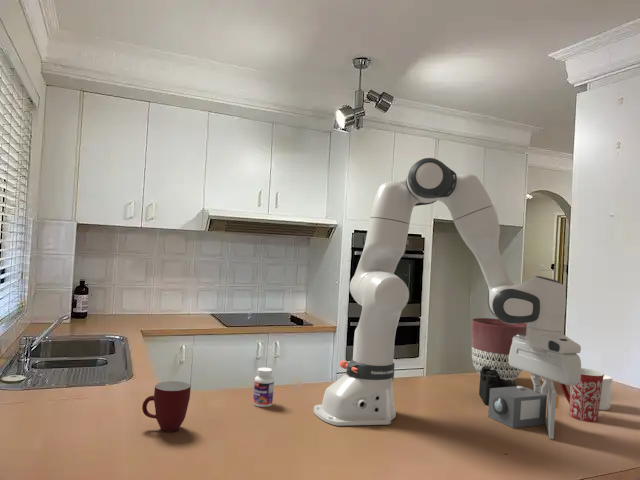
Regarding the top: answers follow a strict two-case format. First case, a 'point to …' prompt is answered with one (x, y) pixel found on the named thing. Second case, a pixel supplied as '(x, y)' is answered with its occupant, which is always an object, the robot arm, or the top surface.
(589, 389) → the mug
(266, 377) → the pill bottle
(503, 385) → the camera
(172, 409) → the mug
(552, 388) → the door
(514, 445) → the top surface
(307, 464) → the top surface
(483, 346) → the planter
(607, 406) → the cup
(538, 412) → the housing
